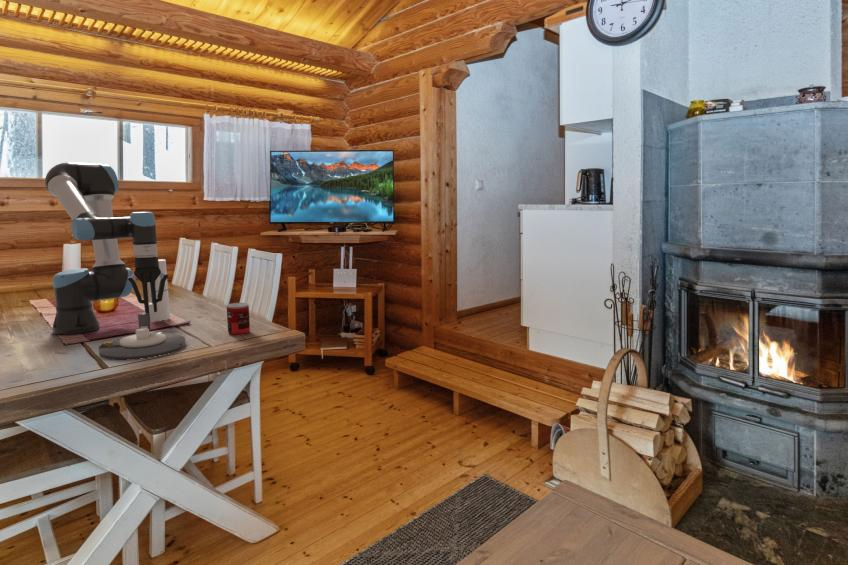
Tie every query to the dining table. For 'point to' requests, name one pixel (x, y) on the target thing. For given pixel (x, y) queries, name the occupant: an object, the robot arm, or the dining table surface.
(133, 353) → the dial plate
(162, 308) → the cylindrical container
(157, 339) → the dial
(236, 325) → the canned food
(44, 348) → the dining table surface
